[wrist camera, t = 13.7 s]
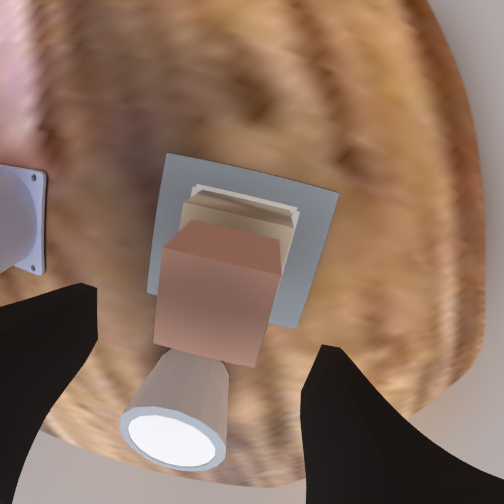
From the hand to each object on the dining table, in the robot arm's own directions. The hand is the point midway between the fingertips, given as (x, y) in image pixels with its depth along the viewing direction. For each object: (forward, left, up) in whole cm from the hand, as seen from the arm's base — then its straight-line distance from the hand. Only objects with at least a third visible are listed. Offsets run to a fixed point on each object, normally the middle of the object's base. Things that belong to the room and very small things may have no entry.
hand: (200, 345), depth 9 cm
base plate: (0, 0, -10) cm, 10 cm away
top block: (0, 0, -6) cm, 6 cm away
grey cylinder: (-1, -11, -11) cm, 15 cm away
